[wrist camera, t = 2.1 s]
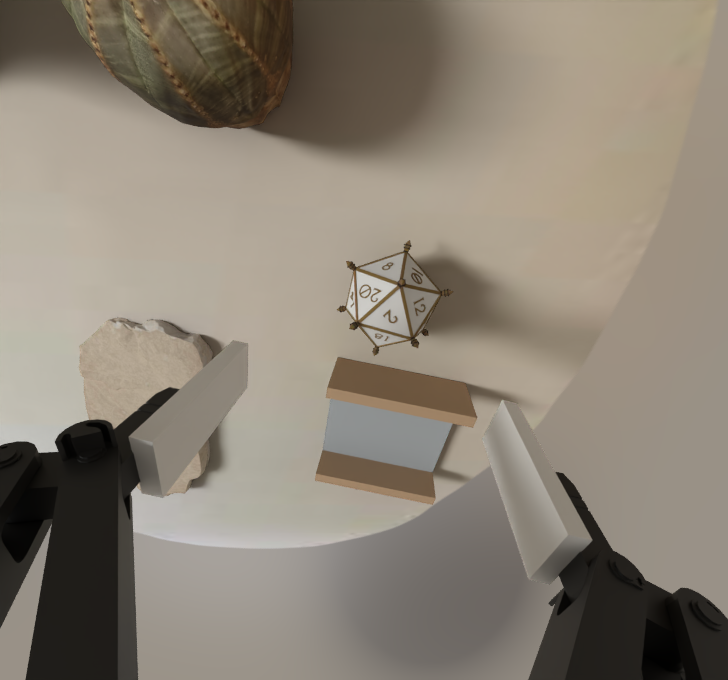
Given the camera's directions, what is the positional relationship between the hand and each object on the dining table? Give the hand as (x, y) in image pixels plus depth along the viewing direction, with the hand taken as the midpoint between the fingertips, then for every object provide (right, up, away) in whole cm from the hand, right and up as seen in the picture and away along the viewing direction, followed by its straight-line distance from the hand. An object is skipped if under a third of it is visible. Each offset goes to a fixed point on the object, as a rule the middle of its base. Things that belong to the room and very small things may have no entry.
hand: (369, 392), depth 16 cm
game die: (+2, +8, +13) cm, 15 cm away
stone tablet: (-28, -7, +24) cm, 38 cm away
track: (+3, -7, +20) cm, 22 cm away
